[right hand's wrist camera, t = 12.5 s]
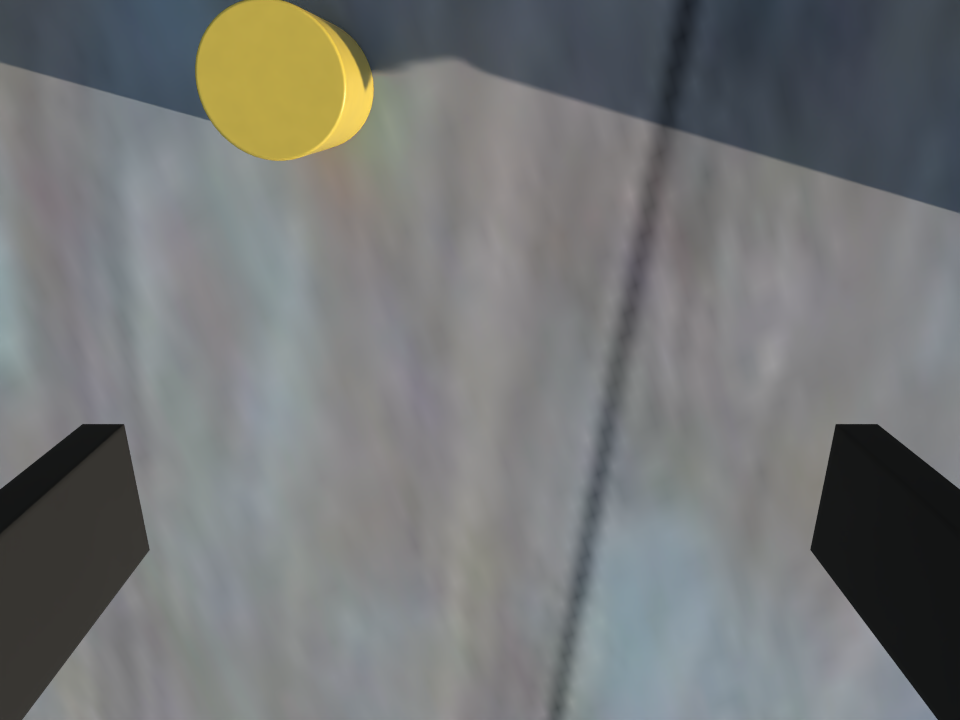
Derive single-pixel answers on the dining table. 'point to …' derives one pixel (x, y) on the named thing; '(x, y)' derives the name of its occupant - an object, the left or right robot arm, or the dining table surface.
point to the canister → (281, 80)
